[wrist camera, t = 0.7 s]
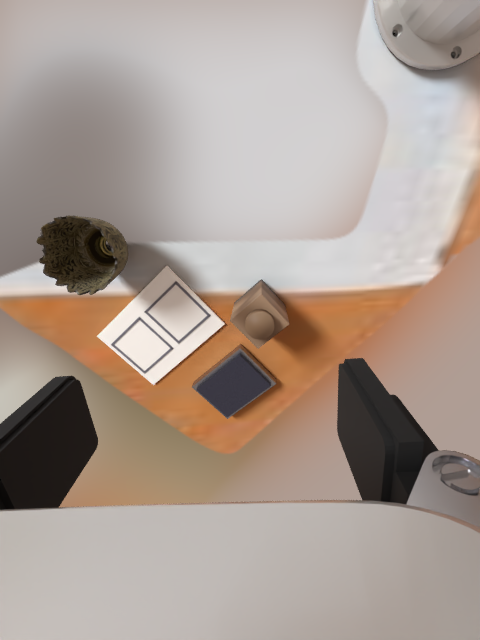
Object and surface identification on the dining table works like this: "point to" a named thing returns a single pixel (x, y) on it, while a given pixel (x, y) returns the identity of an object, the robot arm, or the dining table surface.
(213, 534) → the robot arm
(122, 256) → the carved brown lampshade
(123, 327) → the sheet
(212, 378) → the ink pad
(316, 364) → the dining table surface
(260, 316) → the stamp
